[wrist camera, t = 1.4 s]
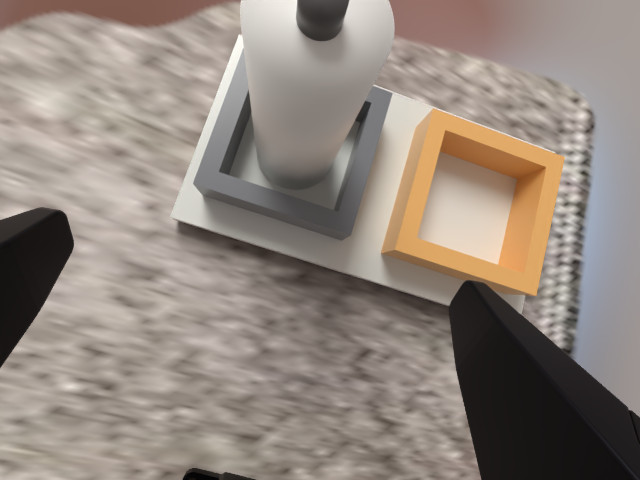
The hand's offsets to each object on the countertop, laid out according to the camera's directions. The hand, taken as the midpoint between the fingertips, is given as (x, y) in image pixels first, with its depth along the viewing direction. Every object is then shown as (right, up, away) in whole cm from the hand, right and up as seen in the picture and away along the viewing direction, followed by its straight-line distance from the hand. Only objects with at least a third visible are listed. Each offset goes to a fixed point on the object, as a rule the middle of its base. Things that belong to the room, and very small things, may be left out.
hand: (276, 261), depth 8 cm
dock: (+5, +4, +15) cm, 16 cm away
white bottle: (-1, +6, +13) cm, 14 cm away
